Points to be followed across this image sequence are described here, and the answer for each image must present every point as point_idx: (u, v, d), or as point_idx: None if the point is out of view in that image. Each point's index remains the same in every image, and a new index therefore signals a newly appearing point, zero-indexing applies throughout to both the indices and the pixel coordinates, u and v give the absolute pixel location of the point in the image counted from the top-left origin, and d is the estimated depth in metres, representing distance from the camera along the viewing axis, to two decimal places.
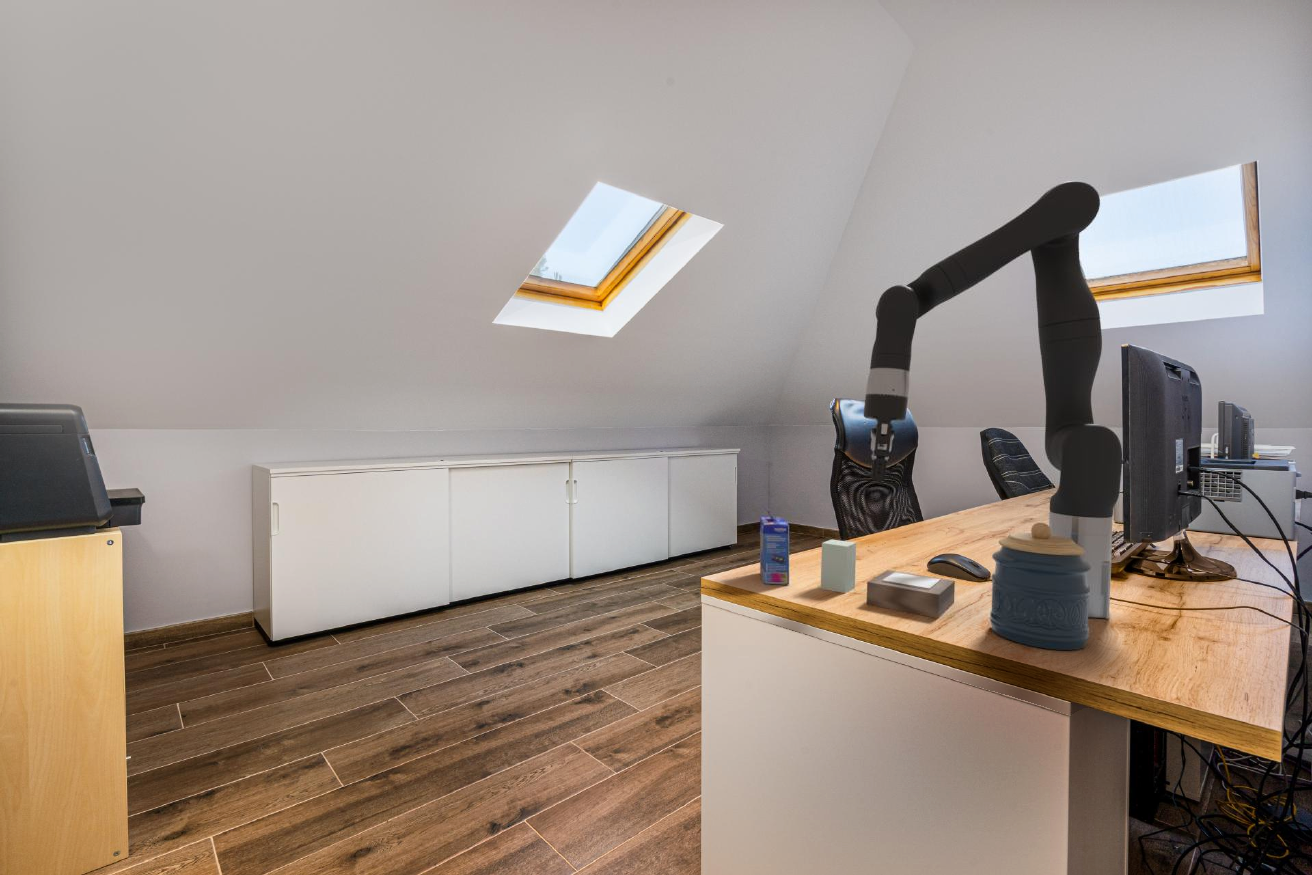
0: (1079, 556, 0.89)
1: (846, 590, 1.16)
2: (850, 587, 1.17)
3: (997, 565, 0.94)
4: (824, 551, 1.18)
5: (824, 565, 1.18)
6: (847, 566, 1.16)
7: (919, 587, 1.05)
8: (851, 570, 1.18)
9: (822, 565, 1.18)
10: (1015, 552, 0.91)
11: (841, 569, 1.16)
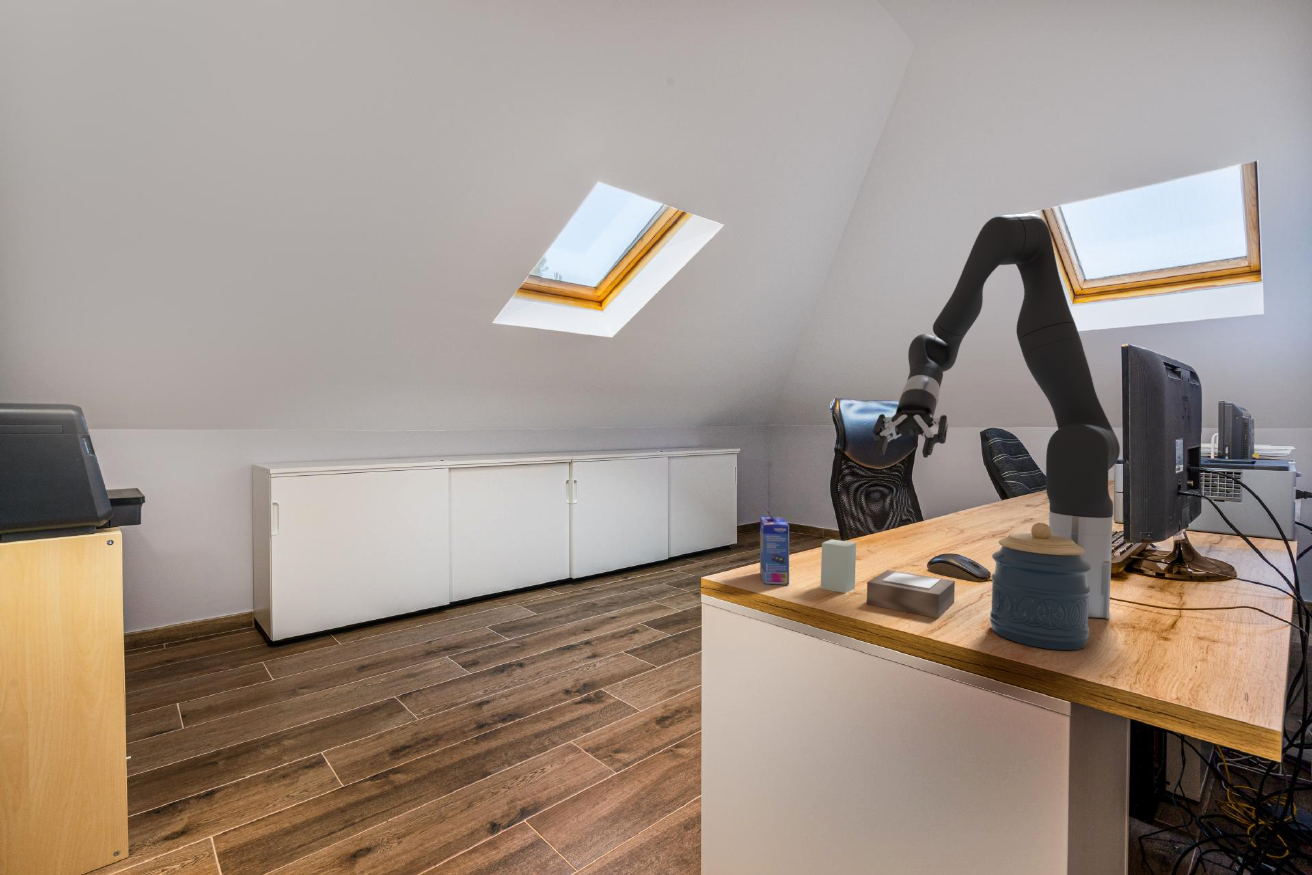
0: (1079, 556, 0.89)
1: (846, 590, 1.16)
2: (850, 587, 1.17)
3: (997, 565, 0.94)
4: (824, 551, 1.18)
5: (824, 565, 1.18)
6: (847, 566, 1.16)
7: (919, 587, 1.05)
8: (851, 570, 1.18)
9: (822, 565, 1.18)
10: (1015, 552, 0.91)
11: (841, 569, 1.16)
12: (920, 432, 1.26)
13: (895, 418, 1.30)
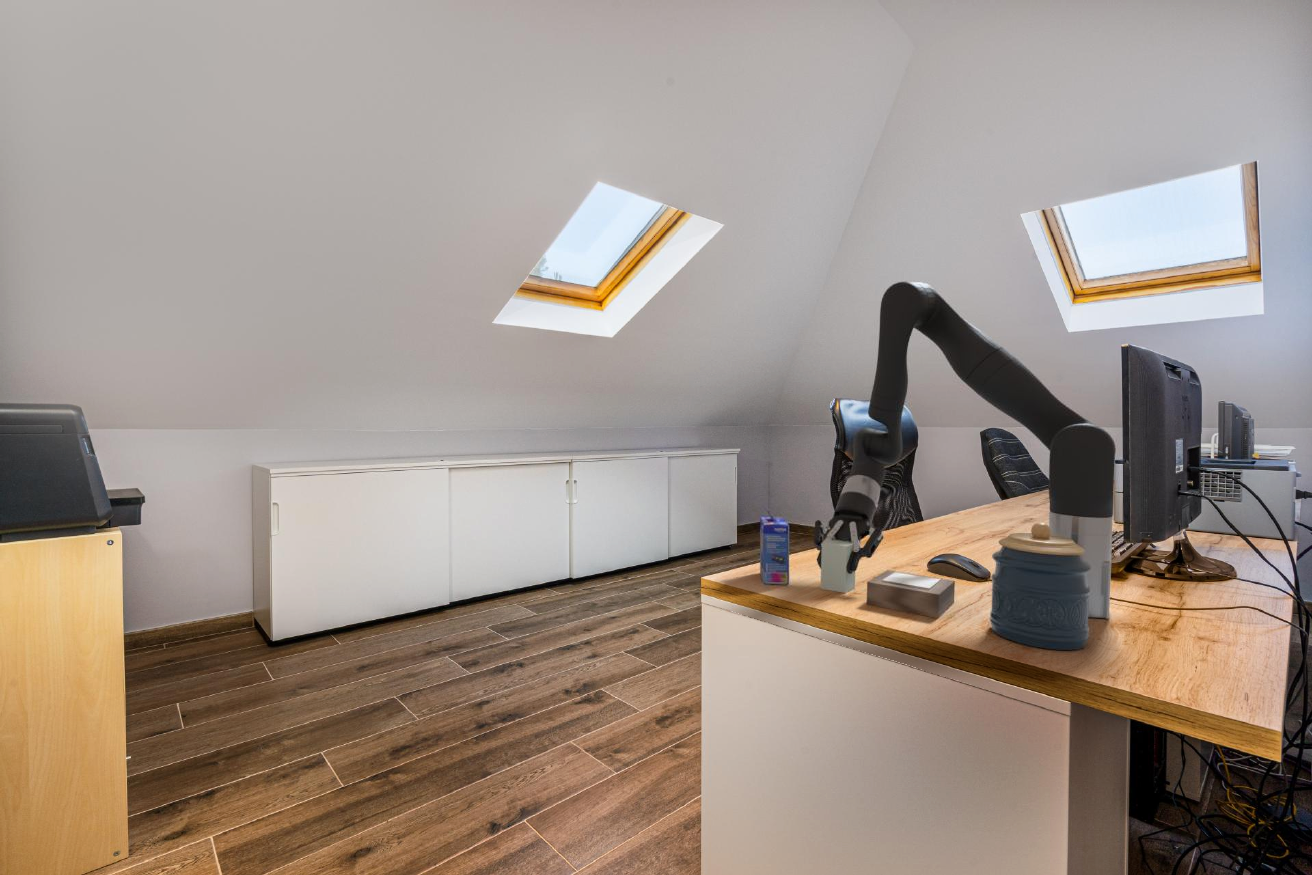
0: (1079, 556, 0.89)
1: (846, 590, 1.16)
2: (850, 587, 1.17)
3: (997, 565, 0.94)
4: (824, 551, 1.18)
5: (824, 565, 1.18)
6: None
7: (919, 587, 1.05)
8: None
9: (822, 565, 1.18)
10: (1015, 552, 0.91)
11: (841, 569, 1.16)
12: (852, 541, 1.20)
13: (832, 523, 1.24)
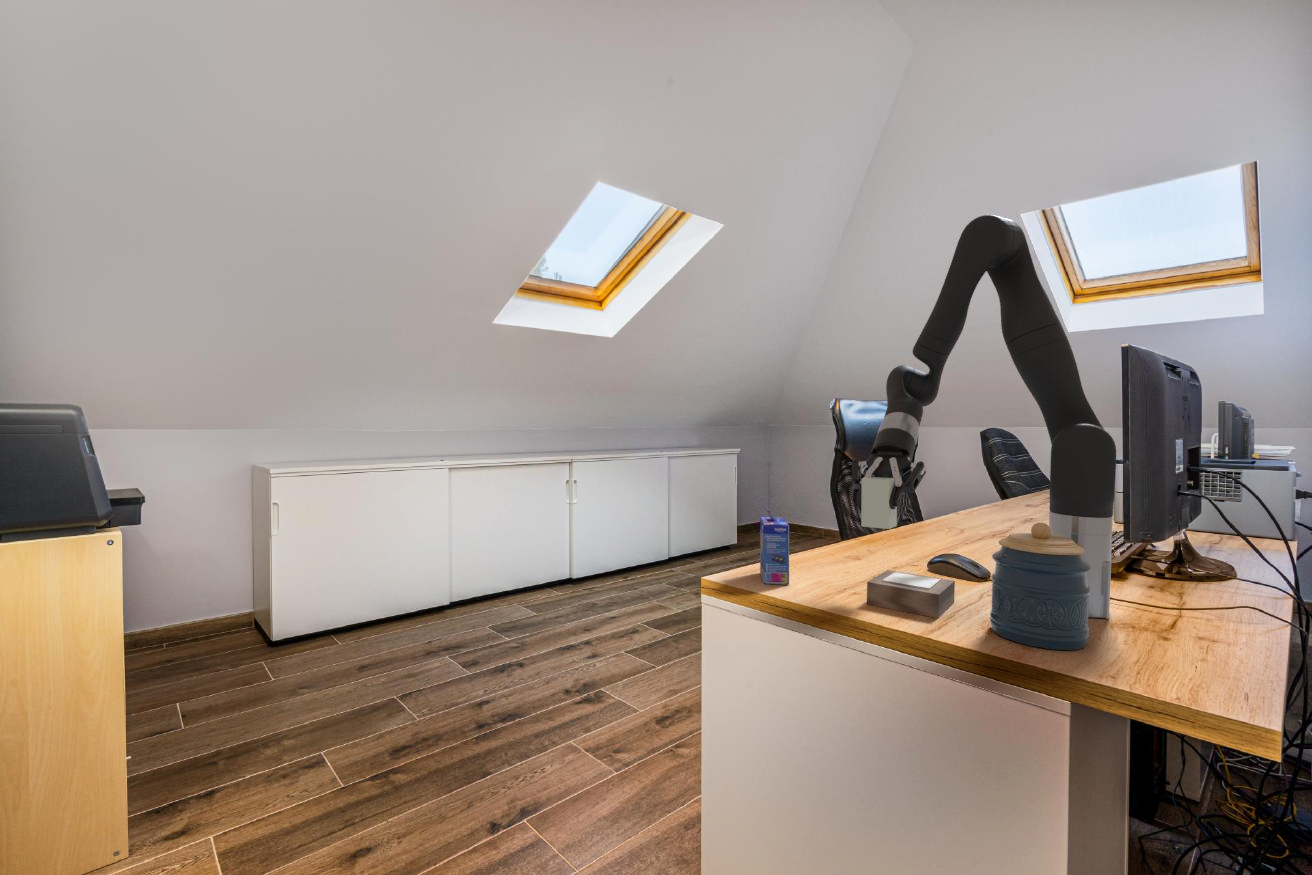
0: (1079, 556, 0.89)
1: (889, 526, 1.10)
2: (892, 523, 1.12)
3: (997, 565, 0.94)
4: (864, 487, 1.13)
5: (865, 502, 1.12)
6: None
7: (919, 587, 1.05)
8: None
9: (862, 502, 1.13)
10: (1015, 552, 0.91)
11: (883, 504, 1.10)
12: (892, 477, 1.15)
13: (871, 461, 1.19)
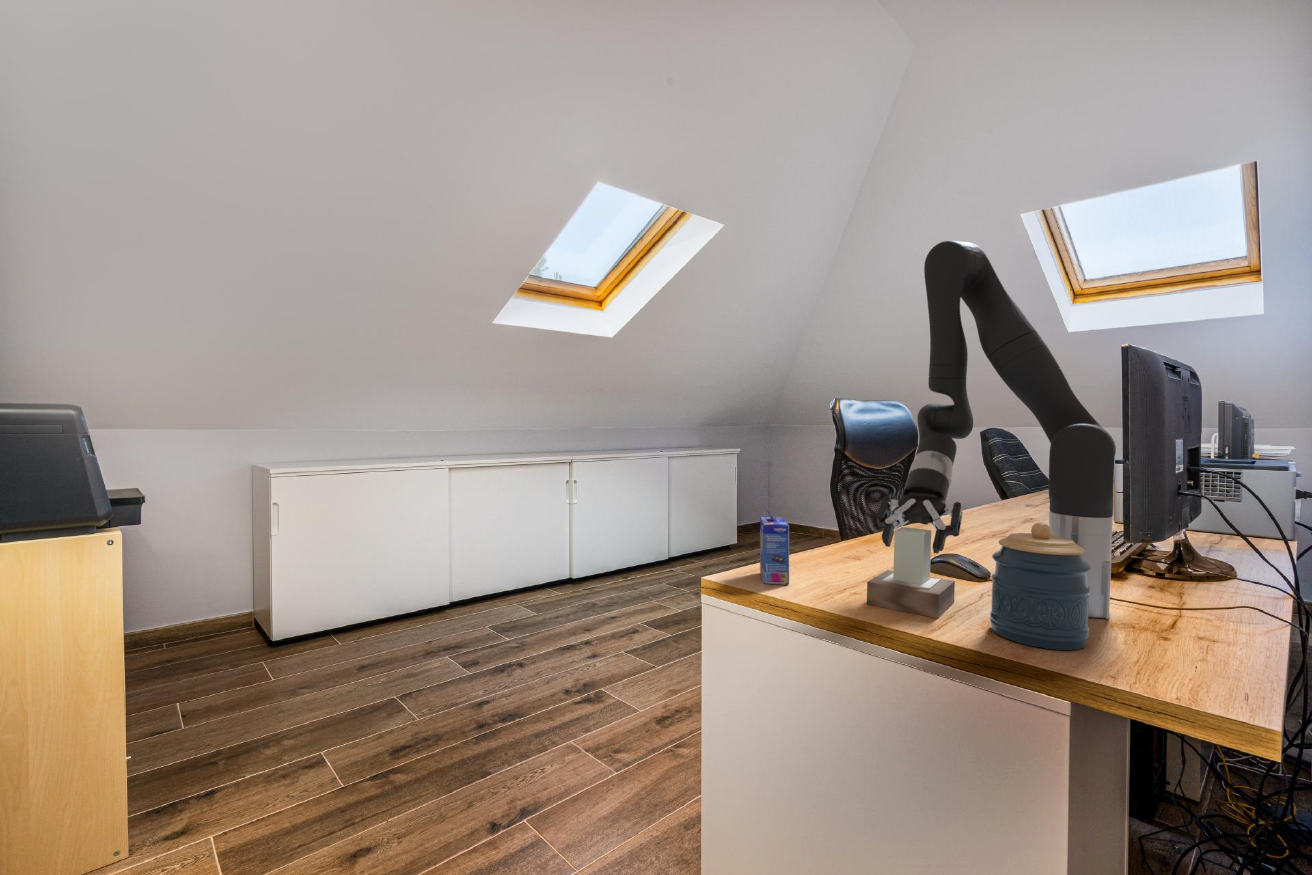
0: (1079, 556, 0.89)
1: (923, 581, 1.06)
2: (926, 578, 1.08)
3: (997, 565, 0.94)
4: (897, 539, 1.08)
5: (898, 555, 1.08)
6: (924, 556, 1.06)
7: (919, 587, 1.05)
8: (927, 560, 1.08)
9: (895, 554, 1.09)
10: (1015, 552, 0.91)
11: (917, 558, 1.06)
12: (930, 520, 1.11)
13: (902, 502, 1.15)
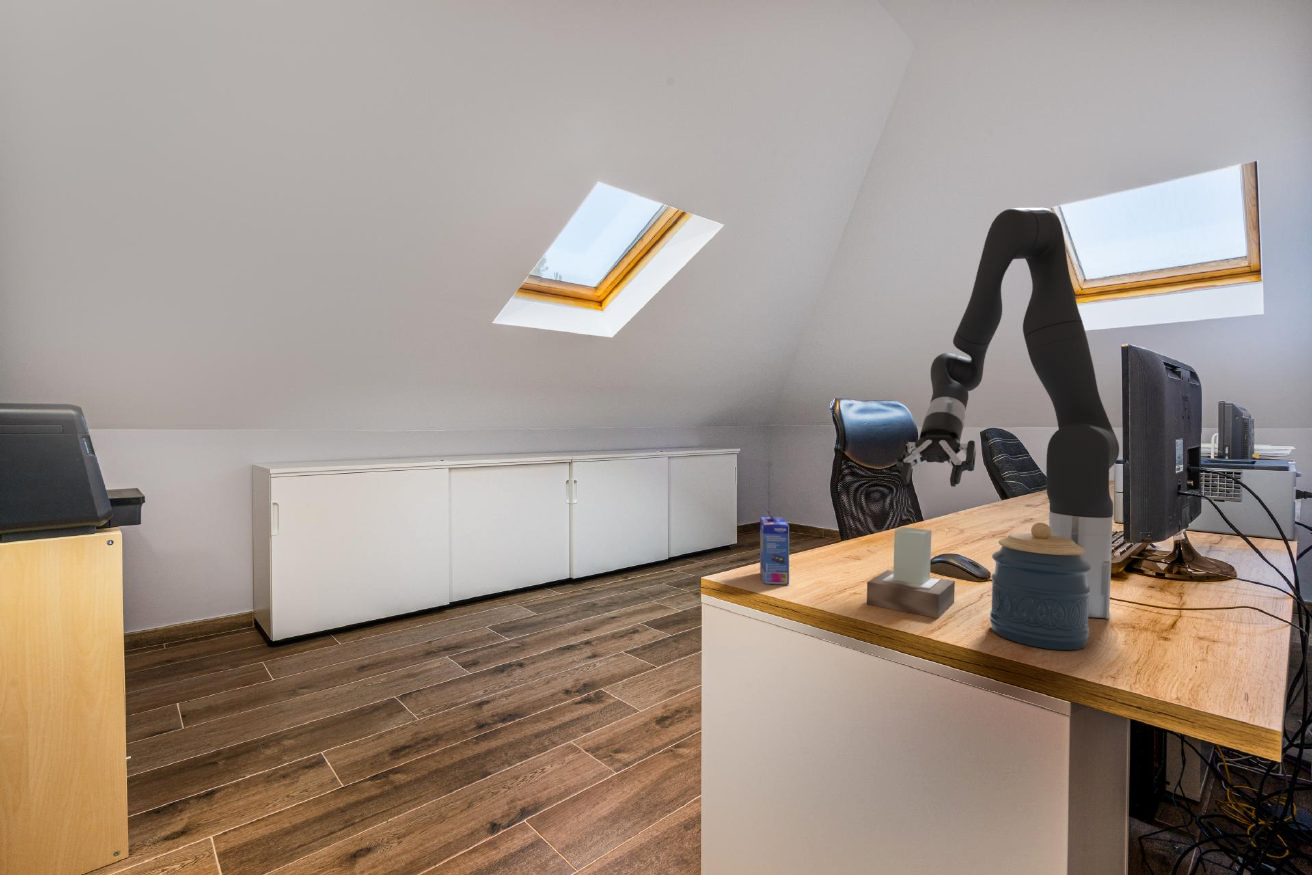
0: (1079, 556, 0.89)
1: (923, 581, 1.06)
2: (926, 578, 1.08)
3: (997, 565, 0.94)
4: (897, 539, 1.08)
5: (898, 555, 1.08)
6: (924, 556, 1.06)
7: (919, 587, 1.05)
8: (927, 560, 1.08)
9: (895, 554, 1.09)
10: (1015, 552, 0.91)
11: (917, 558, 1.06)
12: (946, 458, 1.19)
13: (919, 443, 1.23)
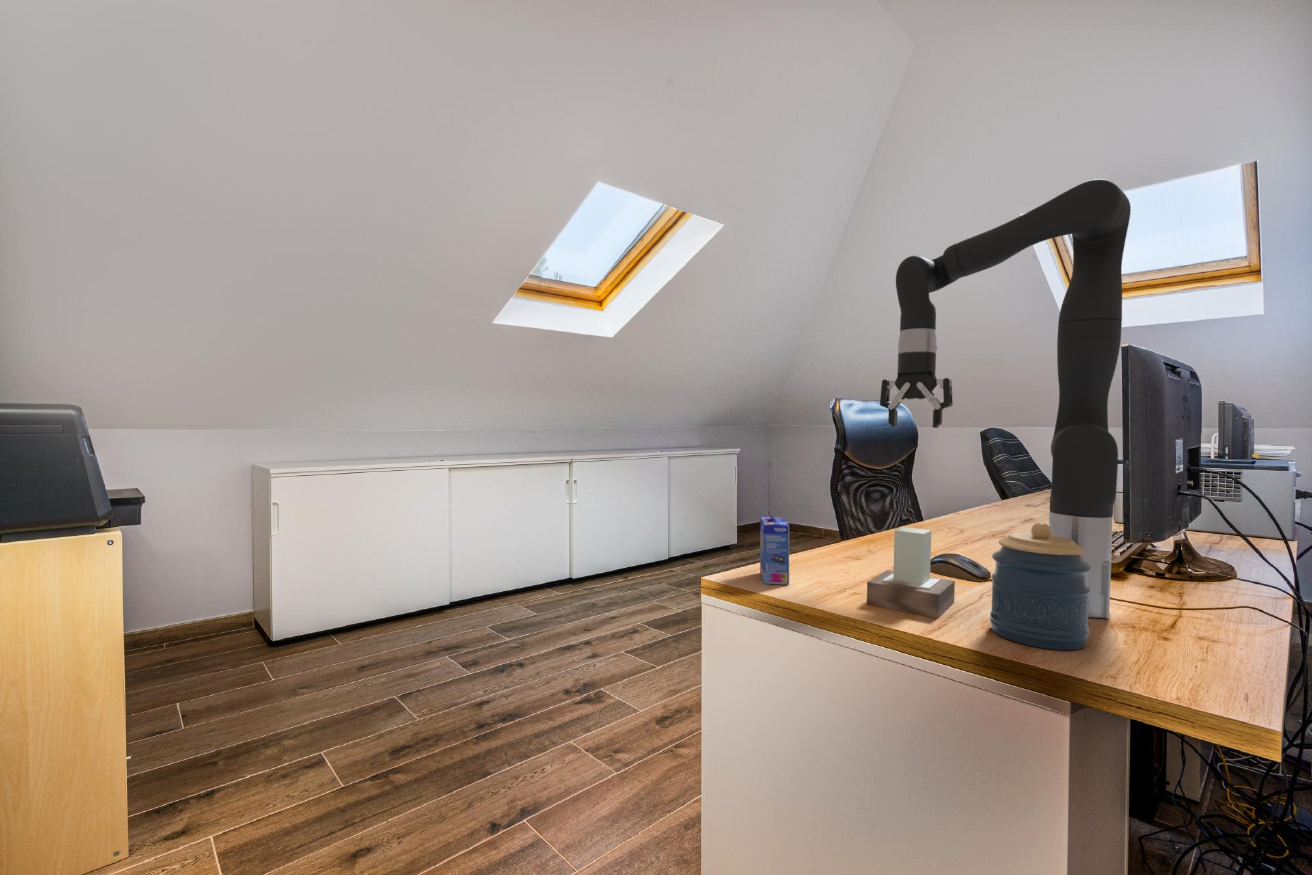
0: (1079, 556, 0.89)
1: (923, 581, 1.06)
2: (926, 578, 1.08)
3: (997, 565, 0.94)
4: (897, 539, 1.08)
5: (898, 555, 1.08)
6: (924, 556, 1.06)
7: (919, 587, 1.05)
8: (927, 560, 1.08)
9: (895, 554, 1.09)
10: (1015, 552, 0.91)
11: (917, 558, 1.06)
12: None
13: (898, 384, 1.31)
